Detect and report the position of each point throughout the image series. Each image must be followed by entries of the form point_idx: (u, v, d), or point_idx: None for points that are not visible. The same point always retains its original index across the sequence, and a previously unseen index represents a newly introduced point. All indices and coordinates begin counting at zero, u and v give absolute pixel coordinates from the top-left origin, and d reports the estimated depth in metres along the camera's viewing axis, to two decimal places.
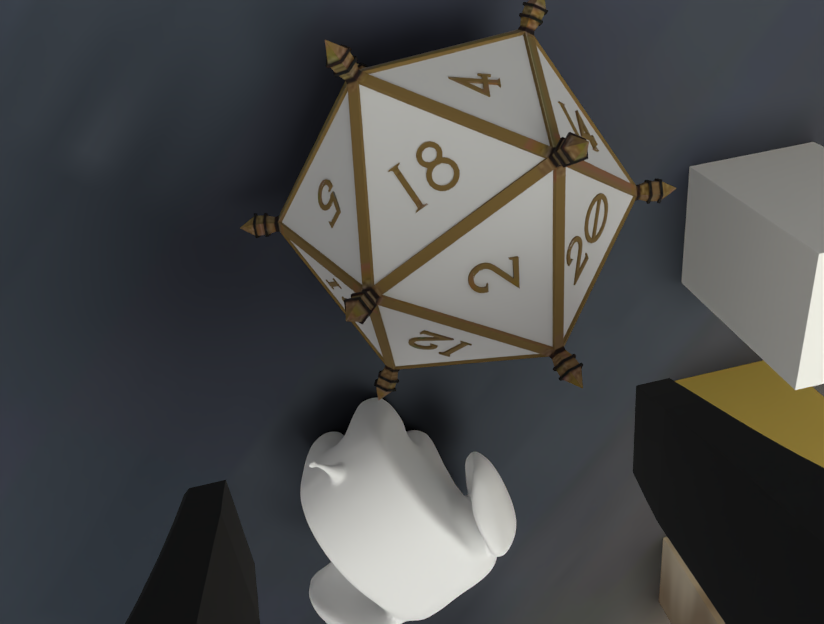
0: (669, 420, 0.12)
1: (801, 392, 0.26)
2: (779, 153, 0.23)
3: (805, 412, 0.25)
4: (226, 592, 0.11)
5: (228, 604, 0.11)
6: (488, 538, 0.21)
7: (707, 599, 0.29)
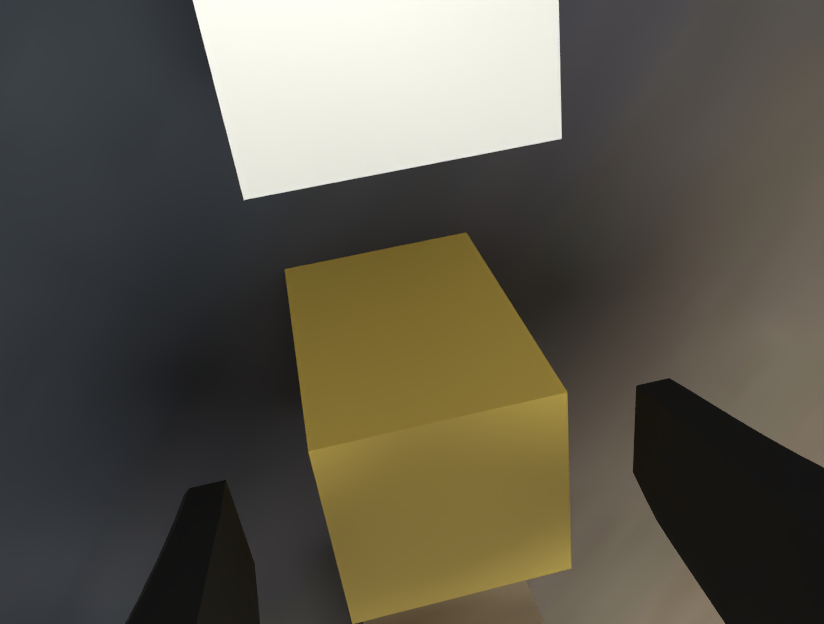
0: (669, 420, 0.12)
1: (467, 279, 0.15)
2: None
3: (455, 307, 0.14)
4: (226, 592, 0.11)
5: (228, 604, 0.11)
6: None
7: None
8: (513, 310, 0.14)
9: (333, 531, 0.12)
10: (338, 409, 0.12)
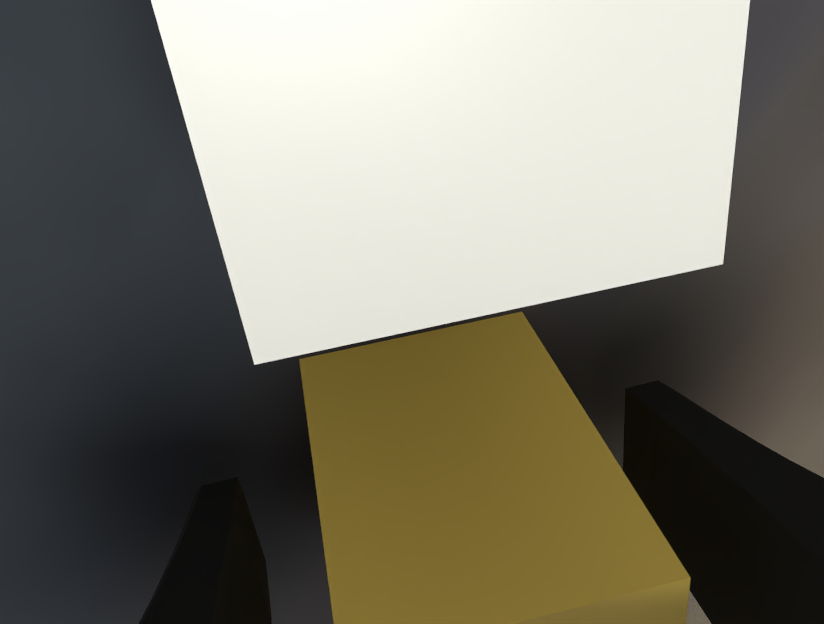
0: (657, 423, 0.12)
1: (531, 383, 0.12)
2: None
3: (520, 426, 0.11)
4: (240, 589, 0.11)
5: (243, 601, 0.11)
6: None
7: None
8: (597, 434, 0.11)
9: None
10: (378, 594, 0.09)
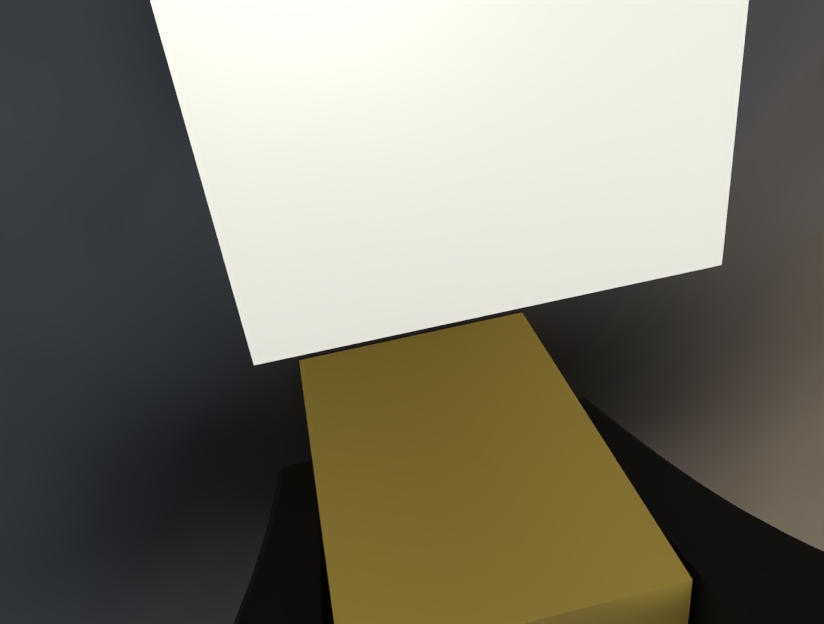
0: None
1: (531, 384, 0.12)
2: None
3: (521, 427, 0.11)
4: None
5: None
6: None
7: None
8: (598, 436, 0.11)
9: None
10: (380, 597, 0.09)
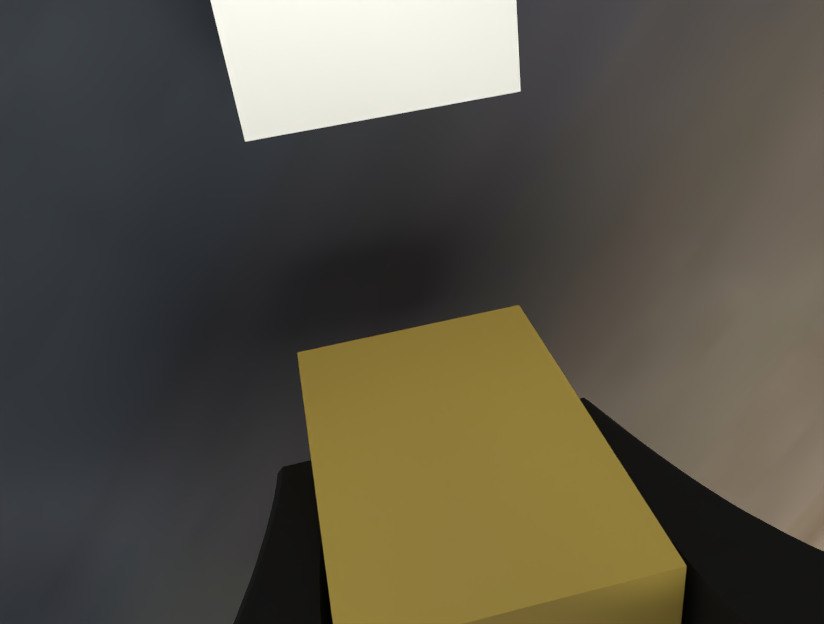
0: None
1: (528, 375, 0.12)
2: None
3: (517, 418, 0.11)
4: None
5: None
6: None
7: None
8: (594, 426, 0.11)
9: None
10: (376, 583, 0.09)
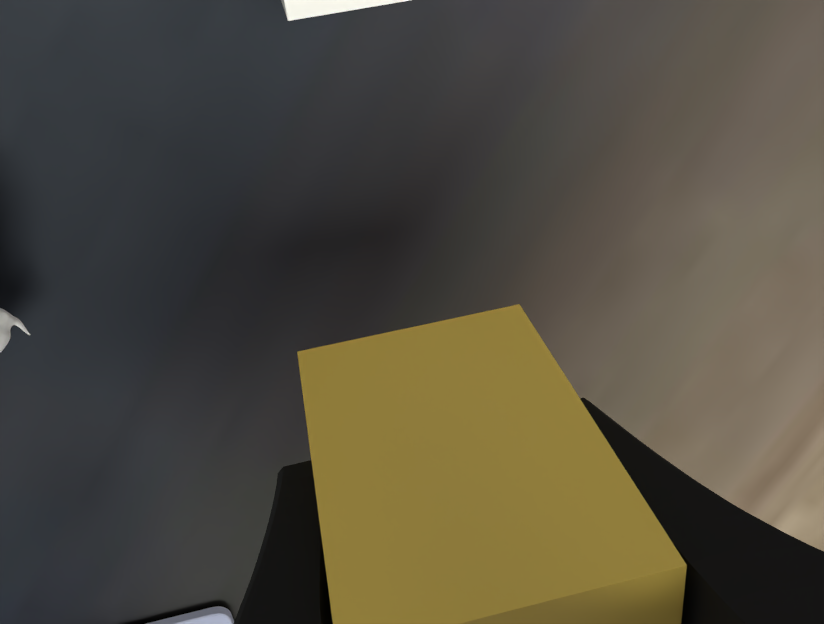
0: None
1: (528, 375, 0.12)
2: None
3: (517, 417, 0.11)
4: None
5: None
6: None
7: None
8: (594, 425, 0.11)
9: None
10: (375, 582, 0.09)
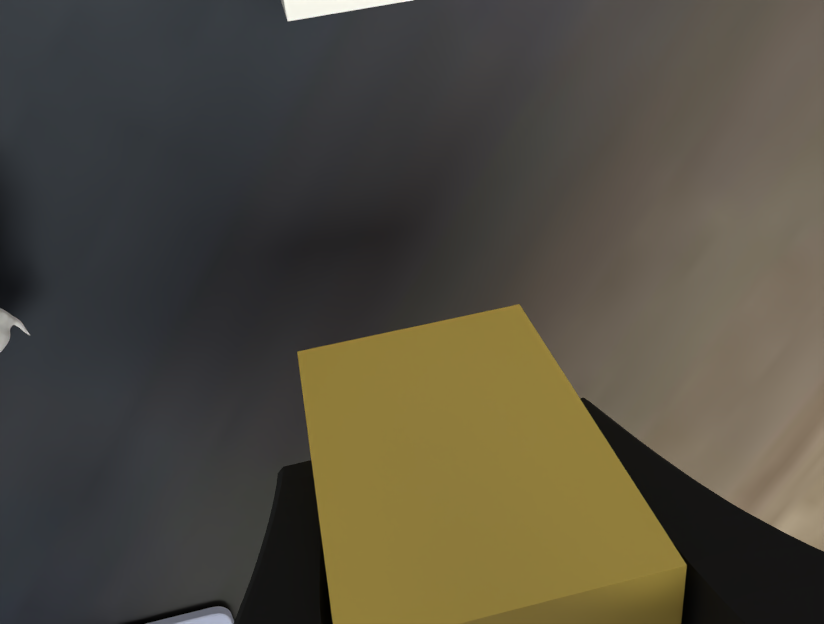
0: None
1: (528, 375, 0.12)
2: None
3: (517, 417, 0.11)
4: None
5: None
6: None
7: None
8: (594, 425, 0.11)
9: None
10: (375, 582, 0.09)
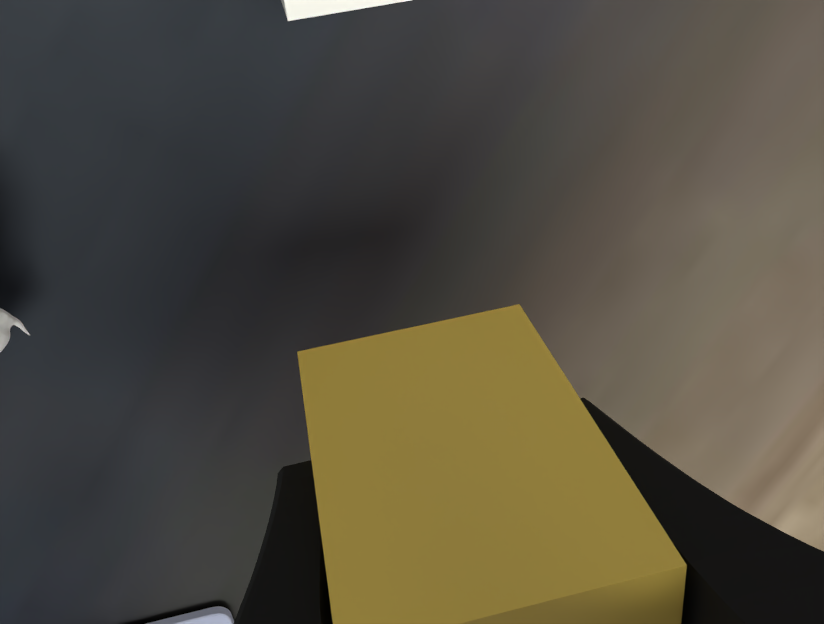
0: None
1: (528, 375, 0.12)
2: None
3: (517, 417, 0.11)
4: None
5: None
6: None
7: None
8: (594, 425, 0.11)
9: None
10: (375, 582, 0.09)
